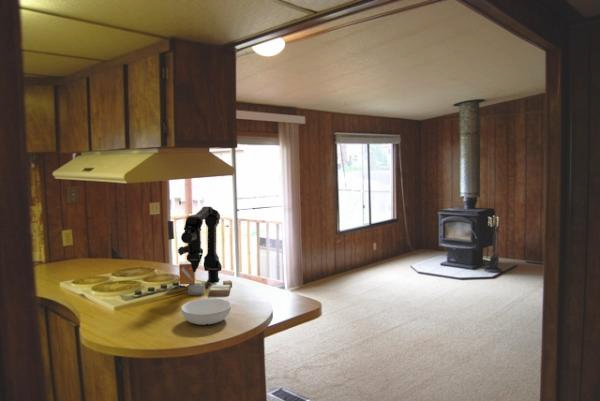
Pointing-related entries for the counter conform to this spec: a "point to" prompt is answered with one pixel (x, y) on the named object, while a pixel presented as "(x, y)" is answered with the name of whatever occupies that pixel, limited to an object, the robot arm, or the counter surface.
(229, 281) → the oak offcut
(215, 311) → the serving bowl
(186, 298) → the counter surface
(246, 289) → the counter surface
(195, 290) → the housing
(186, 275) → the small box
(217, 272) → the robot arm
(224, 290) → the stand
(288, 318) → the counter surface
